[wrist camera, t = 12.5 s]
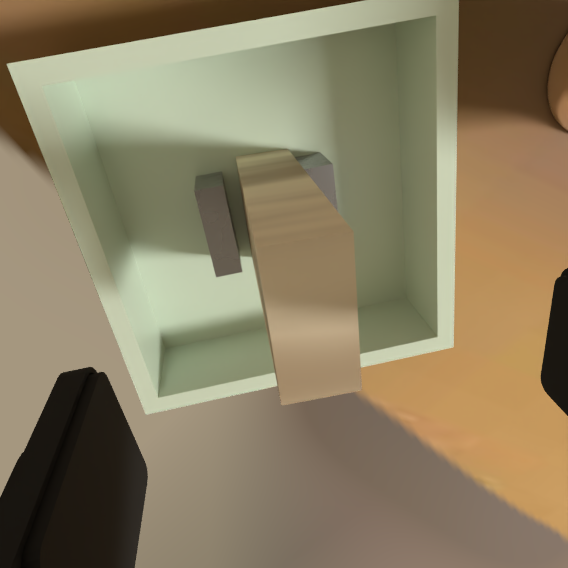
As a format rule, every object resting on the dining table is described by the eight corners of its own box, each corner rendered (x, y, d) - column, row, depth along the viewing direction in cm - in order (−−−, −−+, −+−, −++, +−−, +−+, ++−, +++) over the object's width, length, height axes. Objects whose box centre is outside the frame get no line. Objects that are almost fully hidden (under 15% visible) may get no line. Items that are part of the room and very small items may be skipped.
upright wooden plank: (235, 156, 21) (256, 247, 11) (287, 148, 21) (353, 231, 11) (252, 257, 23) (281, 405, 13) (298, 249, 23) (361, 390, 14)
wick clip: (195, 176, 21) (193, 190, 19) (320, 152, 21) (332, 163, 19) (215, 255, 23) (216, 277, 21) (329, 232, 23) (342, 251, 21)
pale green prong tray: (54, 61, 19) (6, 63, 15) (403, -1, 20) (459, -17, 15) (157, 353, 26) (145, 414, 22) (413, 298, 27) (453, 347, 22)
